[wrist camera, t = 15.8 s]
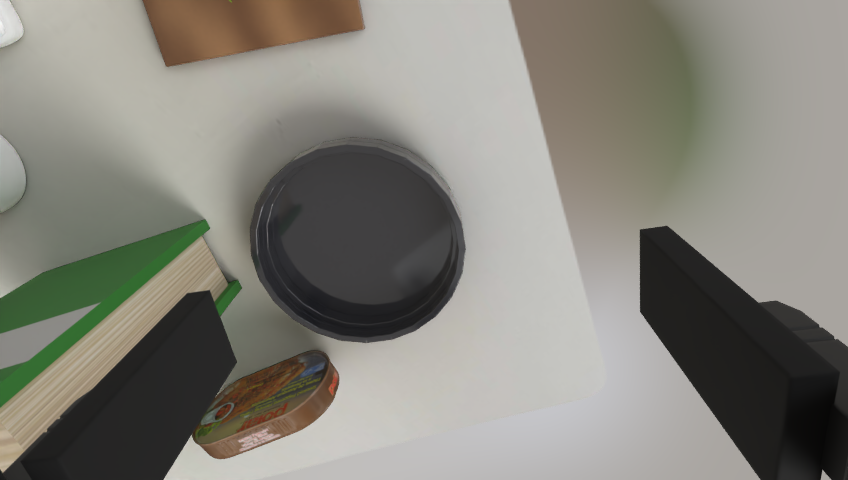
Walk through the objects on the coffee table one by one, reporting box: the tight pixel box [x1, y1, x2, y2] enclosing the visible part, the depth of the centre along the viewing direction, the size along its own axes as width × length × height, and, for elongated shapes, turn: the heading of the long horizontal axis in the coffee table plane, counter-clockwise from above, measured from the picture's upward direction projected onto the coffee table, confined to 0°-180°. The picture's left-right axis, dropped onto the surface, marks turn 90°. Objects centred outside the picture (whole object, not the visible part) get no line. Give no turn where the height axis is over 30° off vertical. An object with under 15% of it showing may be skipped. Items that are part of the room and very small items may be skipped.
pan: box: [250, 137, 466, 343], centre depth 43 cm, size 18×18×4 cm
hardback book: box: [0, 220, 242, 473], centre depth 36 cm, size 18×7×24 cm, turn 108°
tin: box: [192, 351, 339, 459], centre depth 47 cm, size 15×3×8 cm, turn 116°
